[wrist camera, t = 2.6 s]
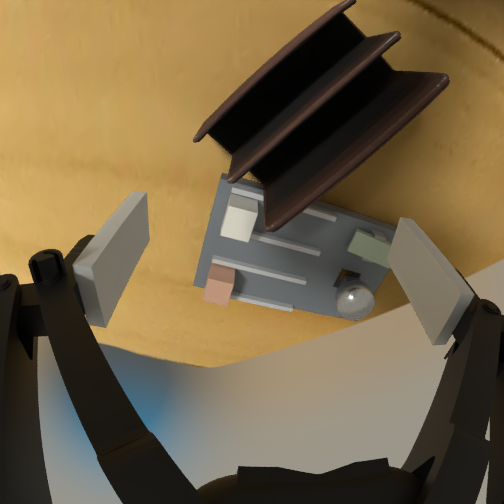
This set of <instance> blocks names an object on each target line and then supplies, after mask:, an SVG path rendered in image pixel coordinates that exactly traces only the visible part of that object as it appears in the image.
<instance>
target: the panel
mask: <svg viewBox="0 0 504 504" xmlns="http://www.w3.org/2000/svg"><path fill="white" fill-rule="evenodd" d="M227 177H228V174H225V173H222V175H221V178H220V182H219V186H218V189H217V193H216V197H215V201H214V204H213V208H212V212H211V216H210V220H209V223H208V227H207V231H206V235H205V239H204V243H203V247H202V251H201V255H200V259H199V263H198V268H197V272H196V276H195V280H194V285H193V286H197V287H201V288H204V290H205V285H206V281H207V277H208V273H209V270H210V266H211V262H212V263H216V264H220V265H224V266H228V267H232V268H235V278H234V286H233V289H232V292H231V295H230V298H231V299H235V300H239V301H244V302H248V303H253V304H257V305H262V306H266V307H271V308H275V309H280V310H285V311H290V312H292V310H293V308H294V309H299V310H303V311H308V312H313V313H318V314H323V315H328V316H333V317H338V318H342V317H341V316H340V314H339V312H338V308H337V305H336V301H335V294H336V291H337V290H338V286H339V284H340V282H341V280H338V279H337V277H338V276H339V274H340V272H341V270H342V269H346V270H349V271H353V272H354V273H353V275H352V277H356V278H359V279H360V280H361V281H364V282H365V283H367V284H368V286H369V288H370V290H371V292H372V294H373V295H374V293H375V292H376V290H377V289H378V287H379V285H380V284H381V282H382V280H383V279H384V277H385V275H386V274H387V272H388V270H389V269H390V266H389V264H388V263H387V261H386V259H387V256H388V253H389V250H390V247H391V244H392V241H393V238H394V235H395V232H396V229H397V227H396V226H393V225H390V224H388V223H385V222H382V221H379V220H376V219H373V218H370V217H367V216H365V215H362V214H359V213H356V212H353V211H350V210H347V209H344V208H341V207H337V206H334V205H331V204H328V203H325V202H322V201H319V200H317V201H316V202H315V203H313V204H312V205H311V206H309V207H308V208H307V209H306V210H304V211H303V212H302V213H300V214H299V215H298V216H296V217H295V218H294V219H292V220H291V221H290V222H289V223H287V224H286V225H285V226H283V227H282V228H281V229H279V230H278V231H276V232H274V233H272V232H266V231H265V229H264V225H263V224H264V222H263V218H264V217H263V214H264V213H263V211H264V204H263V184H262V183H258V182H254V181H251V180H247V179H244V178H240V179H239V180H238V181H237V182H236V183H234V184H228V182H227ZM231 194H234V195H238V196H242V197H245V198H249V199H253V200H256V201H258V215H257V218H256V221H255V224H254V227H253V230H252V233H251V236H250V238H249V241H248V242H244V241H240V240H236V239H232V238H228V237H225V236H221V235H220V234H221V229H222V223H223V219H224V215H225V212H226V208H227V205H228V201H229V198H230V195H231ZM343 319H344V318H343ZM354 321H357V320H354Z"/></svg>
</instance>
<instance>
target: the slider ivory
mask: <svg viewBox="0 0 504 504" xmlns="http://www.w3.org/2000/svg"><path fill="white" fill-rule="evenodd" d="M257 215H258V201H256V200H253V199H249V198H245V197H242V196H238V195H234V194H231V195H230V198H229V201H228V205H227V208H226V212H225V215H224V219H223V223H222V229H221V234H220V235H221V236H225V237H228V238H232V239H236V240H240V241H244V242H248V241H249V238H250V236H251V233H252V230H253V227H254V224H255V221H256V218H257Z"/></svg>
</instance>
